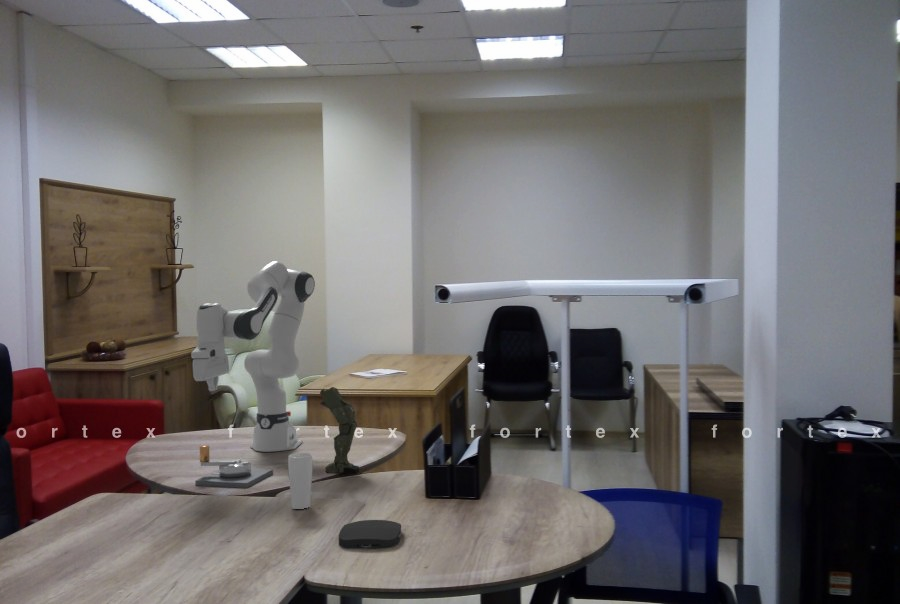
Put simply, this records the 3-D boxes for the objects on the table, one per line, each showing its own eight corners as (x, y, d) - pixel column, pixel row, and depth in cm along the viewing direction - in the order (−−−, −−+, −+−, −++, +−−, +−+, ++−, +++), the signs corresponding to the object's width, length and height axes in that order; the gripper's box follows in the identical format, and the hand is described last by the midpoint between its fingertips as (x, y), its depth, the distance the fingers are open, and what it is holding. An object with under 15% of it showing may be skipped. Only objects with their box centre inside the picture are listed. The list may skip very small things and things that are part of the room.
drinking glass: (318, 507, 206) (317, 454, 206) (298, 512, 201) (297, 458, 201) (303, 502, 211) (303, 451, 211) (284, 508, 206) (283, 455, 206)
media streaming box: (346, 530, 187) (346, 518, 187) (403, 530, 187) (402, 518, 187) (335, 550, 173) (335, 537, 173) (397, 550, 172) (396, 537, 172)
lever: (254, 470, 244) (254, 442, 244) (246, 477, 234) (245, 449, 234) (205, 470, 244) (205, 443, 244) (194, 478, 234) (194, 449, 234)
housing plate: (224, 471, 250) (224, 466, 250) (272, 473, 246) (272, 468, 246) (195, 485, 232) (195, 479, 232) (246, 487, 229) (246, 482, 229)
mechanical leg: (370, 466, 252) (348, 382, 252) (365, 471, 245) (343, 384, 245) (332, 475, 253) (311, 391, 254) (327, 480, 246) (305, 394, 247)
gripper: (215, 347, 260) (217, 385, 261) (188, 353, 240) (190, 395, 240) (232, 346, 259) (234, 385, 260) (206, 353, 239) (208, 395, 240)
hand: (213, 390), depth 250 cm, fingers closed
